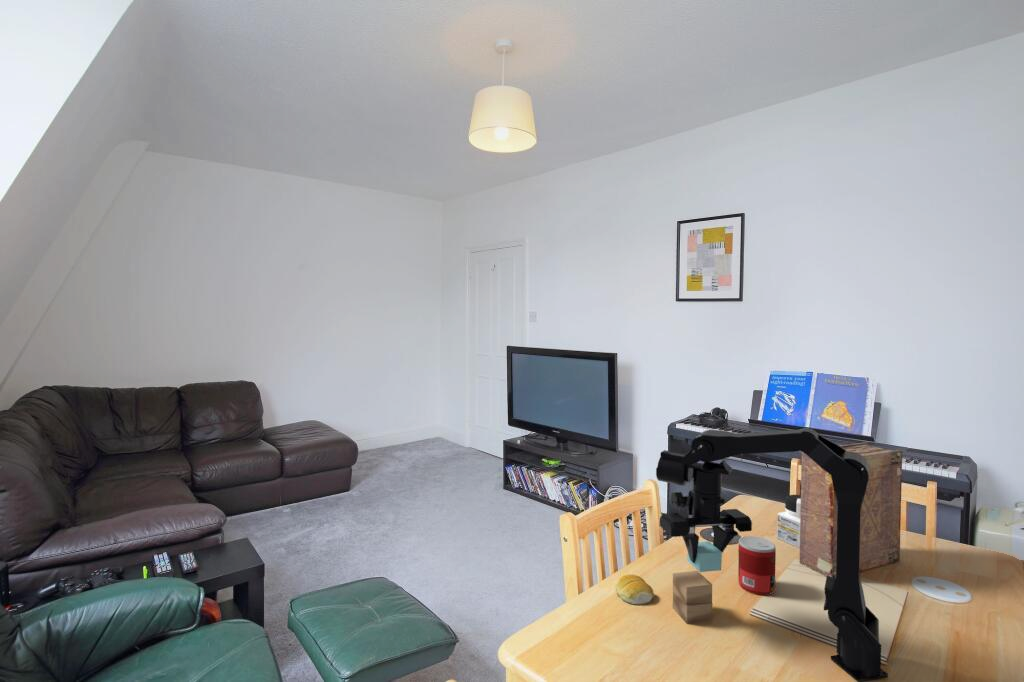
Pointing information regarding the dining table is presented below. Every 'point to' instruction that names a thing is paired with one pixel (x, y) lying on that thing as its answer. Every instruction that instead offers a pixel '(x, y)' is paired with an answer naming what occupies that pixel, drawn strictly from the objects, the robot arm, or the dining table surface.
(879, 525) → the book
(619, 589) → the bread roll
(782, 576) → the dining table surface
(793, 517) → the container
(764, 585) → the canned food
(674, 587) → the tower top
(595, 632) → the dining table surface
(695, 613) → the tower base
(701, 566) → the teal block
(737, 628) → the dining table surface
